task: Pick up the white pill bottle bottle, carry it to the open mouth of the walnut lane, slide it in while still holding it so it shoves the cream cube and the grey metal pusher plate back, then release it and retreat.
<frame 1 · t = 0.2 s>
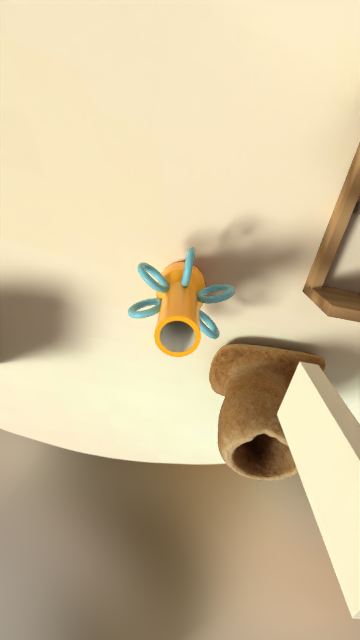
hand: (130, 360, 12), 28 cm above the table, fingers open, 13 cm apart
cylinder: (182, 282, 40), on the table
brown felt boot: (257, 373, 45), on the table
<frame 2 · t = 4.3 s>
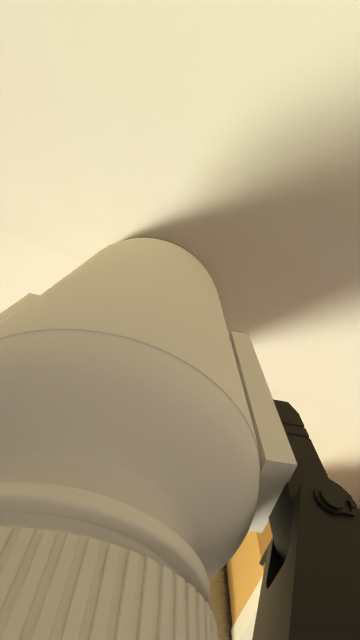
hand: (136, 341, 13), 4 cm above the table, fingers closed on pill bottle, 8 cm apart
cream cube: (275, 513, 25), resting in lane
pill bottle: (149, 303, 17), on the table, touching gripper
pusher: (270, 609, 23), point 4 cm above the table, slide at 0.0 cm
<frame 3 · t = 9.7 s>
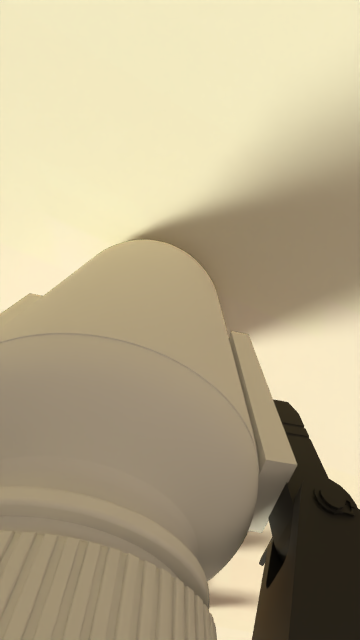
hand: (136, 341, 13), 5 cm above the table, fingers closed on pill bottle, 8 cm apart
pill bottle: (149, 305, 17), on the table, touching gripper
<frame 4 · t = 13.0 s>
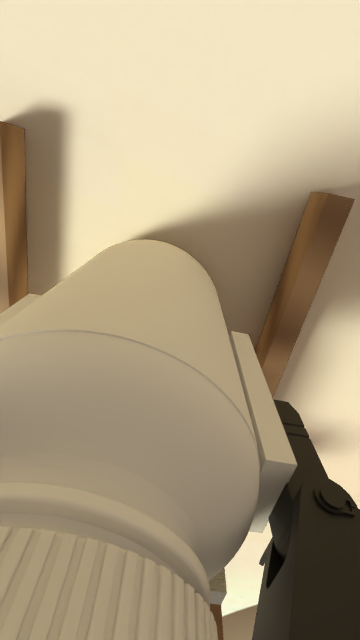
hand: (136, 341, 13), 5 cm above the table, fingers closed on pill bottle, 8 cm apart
lane: (136, 379, 20), on the table
pill bottle: (149, 305, 17), on the table, touching gripper, cream cube
pusher: (111, 502, 18), point 4 cm above the table, slide at 4.2 cm
when the fingers open (5 cm above the table, at t = 14.9 s): pill bottle stays where it is, on the table.
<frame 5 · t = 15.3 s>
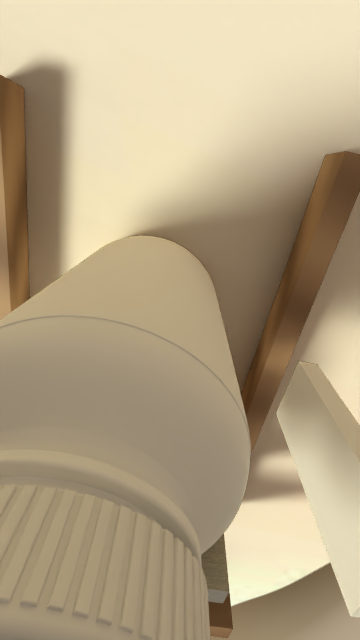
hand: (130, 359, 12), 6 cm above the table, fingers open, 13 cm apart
lane: (140, 359, 19), on the table
pill bottle: (148, 300, 18), on the table
pusher: (113, 501, 18), point 4 cm above the table, slide at 5.8 cm
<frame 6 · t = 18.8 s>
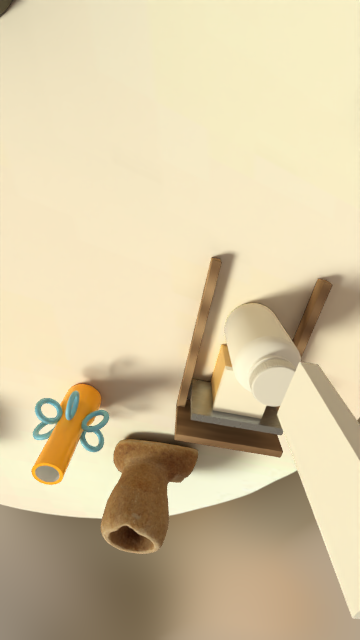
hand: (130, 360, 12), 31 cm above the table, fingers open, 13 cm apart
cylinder: (85, 396, 52), on the table
cream cube: (237, 366, 48), resting in lane
brown felt boot: (154, 456, 58), on the table
lane: (243, 348, 47), on the table
pill bottle: (249, 325, 45), on the table
pusher: (233, 405, 46), point 4 cm above the table, slide at 5.8 cm
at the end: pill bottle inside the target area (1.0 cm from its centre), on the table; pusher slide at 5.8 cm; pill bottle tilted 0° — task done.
